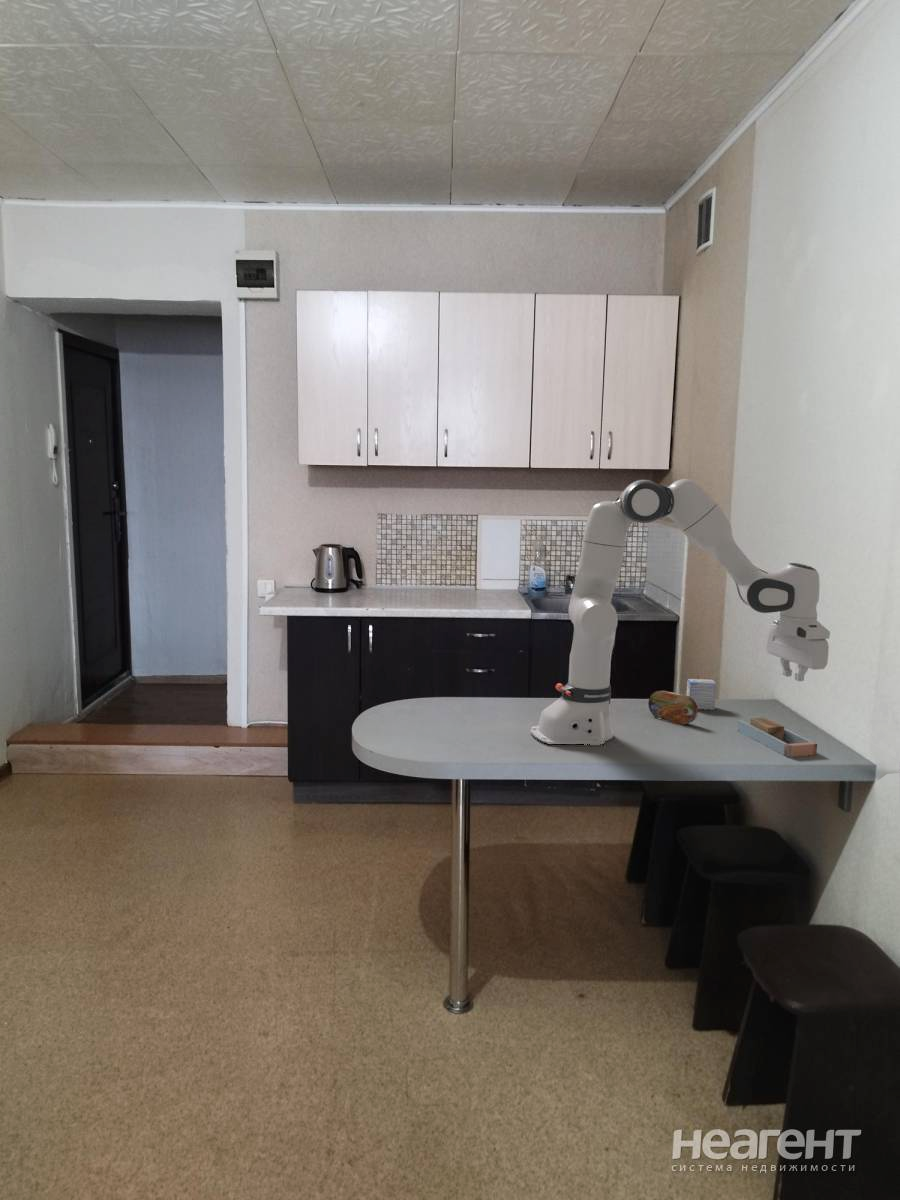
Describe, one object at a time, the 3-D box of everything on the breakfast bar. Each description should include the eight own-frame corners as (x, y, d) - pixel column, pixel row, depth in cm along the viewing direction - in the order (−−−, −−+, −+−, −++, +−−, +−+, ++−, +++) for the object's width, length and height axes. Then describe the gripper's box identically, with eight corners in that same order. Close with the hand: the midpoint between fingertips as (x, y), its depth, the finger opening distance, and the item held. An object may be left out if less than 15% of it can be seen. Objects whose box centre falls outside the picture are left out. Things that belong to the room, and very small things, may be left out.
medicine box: (711, 706, 252) (713, 679, 251) (714, 710, 248) (716, 683, 246) (685, 705, 253) (687, 678, 252) (688, 709, 249) (689, 682, 247)
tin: (647, 715, 241) (648, 688, 240) (652, 713, 244) (654, 686, 242) (692, 728, 231) (694, 699, 229) (698, 725, 233) (700, 697, 232)
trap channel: (787, 757, 208) (788, 746, 207) (737, 730, 229) (738, 720, 229) (816, 754, 210) (817, 743, 210) (764, 728, 231) (765, 718, 231)
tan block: (766, 743, 219) (768, 727, 218) (749, 734, 227) (750, 718, 226) (783, 742, 220) (784, 726, 219) (765, 733, 228) (766, 717, 227)
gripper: (762, 619, 219) (758, 669, 221) (813, 634, 199) (808, 689, 201) (782, 618, 220) (778, 668, 222) (835, 633, 201) (829, 687, 203)
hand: (792, 678), depth 212 cm, fingers open, 3 cm apart
